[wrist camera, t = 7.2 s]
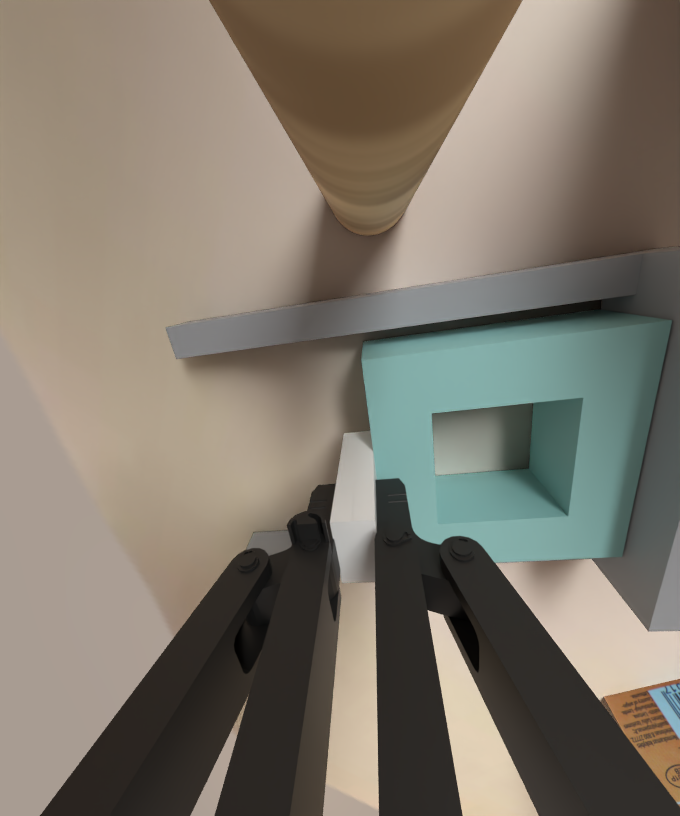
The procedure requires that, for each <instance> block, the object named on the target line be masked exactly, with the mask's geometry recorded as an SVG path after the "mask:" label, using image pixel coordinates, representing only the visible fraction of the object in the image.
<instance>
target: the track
mask: <svg viewBox="0 0 680 816" xmlns="http://www.w3.org/2000/svg"><path fill="white" fill-rule="evenodd" d="M600 299H602V304H601V310H607V311H614V312H620V313H627V314H634V315H640V316H647V317H654V318H660V319H667V320H672V324H671V328H670V333H669V338H668V342H667V347H666V352H665V357H664V361H663V366H662V371H661V376H660V380H659V385H658V390H657V394H656V399H655V404H654V409H653V413H652V418H651V423H650V427H649V432H648V437H647V442H646V446H645V451H644V456H643V461H642V465H641V470H640V475H639V479H638V484H637V489H636V494H635V498H634V503H633V508H632V512H631V517H630V522H629V527H628V531H627V536H626V541H625V546H624V550H623V555H622V557H608V558H585V559H592V560H593V561H594V562H595V564H596V565H597V566H598V568H599V569H600V570H601V571H602V573H603V574H604V575H605V576H606V578H607V579H608V580H609V582H610V583H611V584H612V585H613V587H614V588H615V589H616V591H617V592H618V593H619V594H620V596H621V597H622V598H623V599H624V601H625V602H626V603H627V605H628V606H629V607H630V608H631V610H632V611H633V612H634V614H635V615H636V616H637V617H638V619H639V620H640V621H641V623H642V624H643V625H644V626H645V628H646V629H647V630H648V631H680V246H678V247H667V248H657V249H651V250H644V251H638V252H631V253H625V254H619V255H612V256H606V257H599V258H593V259H587V260H580V261H574V262H567V263H561V264H555V265H548V266H542V267H535V268H529V269H523V270H516V271H510V272H503V273H497V274H491V275H484V276H478V277H471V278H465V279H459V280H452V281H446V282H439V283H433V284H427V285H420V286H414V287H407V288H401V289H395V290H388V291H382V292H375V293H369V294H363V295H356V296H350V297H343V298H337V299H331V300H324V301H318V302H311V303H305V304H299V305H292V306H286V307H279V308H273V309H267V310H260V311H254V312H247V313H241V314H235V315H228V316H222V317H215V318H209V319H203V320H196V321H190V322H185V323H181V324H177V325H174V326H170V327H166V331H167V334H168V337H169V339H170V342H171V345H172V348H173V351H174V354H175V357H176V359H180V358H187V357H194V356H202V355H209V354H216V353H223V352H230V351H237V350H244V349H251V348H258V347H266V346H273V345H280V344H287V343H294V342H301V341H308V340H315V339H322V338H330V337H337V336H344V335H351V334H358V333H365V332H372V331H379V330H387V329H394V328H401V327H408V326H415V325H422V324H429V323H436V322H443V321H451V320H458V319H465V318H472V317H479V316H486V315H493V314H500V313H508V312H515V311H522V310H529V309H536V308H543V307H550V306H557V305H564V304H572V303H579V302H586V301H593V300H600ZM291 545H292V543H291V539H290V536H289V532H288V530H285V531H269V532H254V533H253V535H252V537H251V540H250V542H249V544H248V546H247V548H246V550H248V549H251V548H261V549H263V550H265V551H266V552H267V554H268V556H270V555H273V554H276V553H279V552H282V551H284V550H287V549H288V548H290V547H291ZM562 560H576V559H562ZM540 561H553V560H540ZM517 562H530V561H517ZM495 563H507V562H495Z"/></svg>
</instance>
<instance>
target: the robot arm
mask: <svg viewBox="0 0 680 816" xmlns="http://www.w3.org/2000/svg"><path fill="white" fill-rule="evenodd" d="M287 528H288V532H289V536H290V539H291V543H292V545H291V547H290V548H288V549H287V550H284V551H282V552H279V553H276V554H273V555H270V556H268V554H267V552H266V551H265V550H263V549H261V548H251V549H248V550H245V551H243V552H241V553H240V554H238V555H237V556H236V557H235V558H234V559H233V560H232V561H231V563H230V564H229V565H228V566H227V568H226V569H225V570H224V572H223V573H222V574H221V576H220V577H219V578H218V580H217V581H216V582H215V584H214V585H213V586H212V588H211V589H210V590H209V592H208V593H207V594H206V596H205V597H204V598H203V600H202V601H201V602H200V604H199V605H198V606H197V608H196V609H195V610H194V612H193V613H192V614H191V616H190V617H189V618H188V620H187V621H186V622H185V624H184V625H183V626H182V628H181V629H180V630H179V632H178V633H177V634H176V636H175V637H174V638H173V640H172V641H171V642H170V644H169V645H168V646H167V648H166V649H165V650H164V652H163V653H162V654H161V656H160V657H159V658H158V660H157V661H156V662H155V664H154V665H153V666H152V668H151V669H150V670H149V672H148V673H147V674H146V675H145V677H144V678H143V679H142V681H141V682H140V683H139V685H138V686H137V687H136V689H135V690H134V691H133V693H132V694H131V696H130V697H129V698H128V699H127V701H126V702H125V704H124V705H123V706H122V707H121V709H120V710H119V711H118V713H117V714H116V715H115V717H114V718H113V719H112V721H111V722H110V723H109V725H108V726H107V727H106V729H105V730H104V731H103V733H102V734H101V735H100V737H99V738H98V739H97V741H96V742H95V743H94V745H93V746H92V747H91V749H90V750H89V751H88V753H87V754H86V755H85V757H84V758H83V759H82V761H81V762H80V763H79V765H78V766H77V767H76V769H75V770H74V771H73V773H72V774H71V775H70V777H69V778H68V779H67V780H66V782H65V783H64V785H63V786H62V787H61V789H60V790H59V791H58V792H57V794H56V795H55V797H54V798H53V799H52V801H51V802H50V803H49V804H48V806H47V807H46V808H45V810H44V811H43V813H42V814H41V815H40V816H190V815H191V813H192V811H193V809H194V807H195V805H196V803H197V800H198V798H199V796H200V794H201V792H202V790H203V788H204V785H205V784H206V782H207V780H208V778H209V776H210V773H211V771H212V769H213V767H214V765H215V763H216V761H217V759H218V757H219V754H220V753H221V751H222V748H223V747H224V744H225V742H226V740H227V738H228V736H229V734H230V732H231V730H232V728H233V726H234V724H235V722H236V720H237V717H238V715H239V713H240V711H241V709H242V707H243V705H244V703H245V701H246V699H247V697H248V700H247V704H246V707H245V711H244V714H243V718H242V721H241V725H240V728H239V732H238V735H237V739H236V742H235V746H234V750H233V753H232V756H231V760H230V763H229V767H228V770H227V774H226V777H225V781H224V784H223V788H222V791H221V795H220V799H219V802H218V806H217V809H216V813H215V816H323V805H324V793H325V782H326V770H327V758H328V746H329V735H330V723H331V711H332V699H333V687H334V676H335V664H336V652H337V640H338V628H339V616H340V605H341V593H340V588H339V581H340V576H341V581H342V583H362V582H375V600H376V659H377V718H378V777H379V816H462V810H461V804H460V798H459V792H458V787H457V781H456V775H455V769H454V763H453V757H452V751H451V746H450V740H449V734H448V728H447V722H446V716H445V711H444V705H443V699H442V693H441V687H440V681H439V675H438V670H437V664H436V658H435V652H434V646H433V640H432V634H431V629H430V623H429V617H428V611H427V610H429V611H432V612H436V613H439V614H443V615H444V618H445V620H446V623H447V625H448V627H449V629H450V631H451V633H452V635H453V637H454V639H455V641H456V643H457V645H458V648H459V650H460V652H461V654H462V656H463V658H464V660H465V662H466V664H467V666H468V668H469V671H470V673H471V675H472V677H473V679H474V681H475V683H476V685H477V687H478V689H479V691H480V693H481V696H482V698H483V700H484V702H485V704H486V706H487V708H488V710H489V712H490V714H491V716H492V719H493V721H494V723H495V725H496V727H497V729H498V731H499V733H500V735H501V737H502V739H503V742H504V744H505V746H506V748H507V750H508V752H509V754H510V756H511V758H512V760H513V762H514V764H515V767H516V769H517V771H518V773H519V775H520V777H521V779H522V781H523V783H524V785H525V787H526V790H527V792H528V794H529V796H530V798H531V800H532V802H533V804H534V806H535V808H536V810H537V813H538V815H539V816H680V806H679V805H678V804H677V802H676V801H675V800H674V798H673V797H672V796H671V794H670V793H669V792H668V790H667V789H666V788H665V787H664V785H663V784H662V783H661V781H660V780H659V779H658V777H657V776H656V775H655V773H654V772H653V771H652V769H651V768H650V767H649V765H648V764H647V763H646V761H645V760H644V759H643V758H642V756H641V755H640V754H639V752H638V751H637V750H636V748H635V747H634V746H633V744H632V743H631V742H630V740H629V739H628V738H627V736H626V735H625V734H624V732H623V731H622V730H621V729H620V727H619V726H618V725H617V723H616V722H615V721H614V719H613V718H612V717H611V715H610V714H609V713H608V711H607V710H606V709H605V707H604V706H603V705H602V703H601V702H600V701H599V700H598V698H597V697H596V696H595V694H594V693H593V692H592V690H591V689H590V688H589V686H588V685H587V684H586V682H585V681H584V680H583V678H582V677H581V676H580V674H579V673H578V672H577V671H576V669H575V668H574V667H573V665H572V664H571V663H570V661H569V660H568V659H567V657H566V656H565V655H564V653H563V652H562V651H561V649H560V648H559V647H558V645H557V644H556V643H555V642H554V640H553V639H552V638H551V636H550V635H549V634H548V632H547V631H546V630H545V628H544V627H543V626H542V624H541V623H540V622H539V620H538V619H537V618H536V616H535V615H534V614H533V613H532V611H531V610H530V609H529V607H528V606H527V605H526V603H525V602H524V601H523V599H522V598H521V597H520V595H519V594H518V593H517V591H516V590H515V589H514V588H513V586H512V585H511V584H510V582H509V581H508V580H507V578H506V577H505V576H504V574H503V573H502V572H501V570H500V569H499V568H498V566H497V565H496V564H495V562H494V561H493V560H492V559H491V557H490V556H489V555H488V553H487V552H486V551H485V549H484V548H483V547H482V546H481V545H480V544H479V543H478V542H477V541H475V540H473V539H471V538H469V537H464V536H452V537H449V538H447V539H445V540H444V541H443V542H442V543H441V544H435V543H431V542H427V541H425V540H423V539H421V538H420V537H418V536H417V535H416V534H415V532H414V531H413V528H412V524H411V518H410V512H409V506H408V500H407V495H406V488H405V484H404V483H403V482H402V481H401V480H400V479H399V478H393V479H380V480H377V476H376V468H375V461H374V453H373V446H372V438H371V431H362V432H352V433H344V436H343V443H342V449H341V455H340V462H339V468H338V474H337V480H336V484H327V485H318V486H317V487H316V489H315V490H314V491H313V492H312V494H311V498H310V503H309V506H308V510H307V511H305V512H301V513H299V514H297V515H295V516H294V517H293V518H292V519H290V521H289V522H288V524H287ZM248 695H249V696H248Z"/></svg>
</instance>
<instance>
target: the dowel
mask: <svg viewBox="0 0 680 816" xmlns="http://www.w3.org/2000/svg"><path fill="white" fill-rule="evenodd" d="M209 1H210V3H211V4H212V6H213V8H214V9H215V11H216V13H217V15H218V16H219V18H220V20H221V21H222V23H223V25H224V27H225V28H226V30H227V32H228V33H229V35H230V37H231V39H232V40H233V42H234V44H235V45H236V47H237V49H238V50H239V52H240V54H241V56H242V57H243V59H244V61H245V62H246V64H247V66H248V68H249V69H250V71H251V73H252V74H253V76H254V78H255V80H256V81H257V83H258V85H259V86H260V88H261V90H262V92H263V93H264V95H265V97H266V98H267V100H268V102H269V104H270V105H271V107H272V109H273V110H274V112H275V114H276V116H277V117H278V119H279V121H280V122H281V124H282V126H283V128H284V129H285V131H286V133H287V134H288V136H289V138H290V139H291V141H292V143H293V145H294V146H295V148H296V150H297V151H298V153H299V155H300V157H301V158H302V160H303V162H304V163H305V165H306V167H307V169H308V170H309V172H310V174H311V175H312V177H313V179H314V181H315V182H316V184H317V186H318V187H319V189H320V191H321V193H322V194H323V196H324V198H325V199H326V201H327V203H328V205H329V206H330V208H331V210H332V211H333V213H334V215H335V216H336V218H337V220H338V221H339V222H340V223H341V224H342V225H343V226H344V227H345V228H346V229H348V230H349V231H351V232H353V233H356V234H359V235H364V236H371V235H377V234H380V233H382V232H385V231H386V230H388V229H390V228H391V227H392V226H394V225H395V224H396V223H397V222H398V220H399V219H400V218H401V217H402V215H403V213H404V212H405V210H406V208H407V207H408V205H409V203H410V201H411V199H412V198H413V196H414V194H415V192H416V190H417V189H418V187H419V185H420V183H421V181H422V180H423V178H424V176H425V174H426V172H427V171H428V169H429V167H430V165H431V163H432V162H433V160H434V158H435V156H436V154H437V153H438V151H439V149H440V147H441V145H442V144H443V142H444V140H445V138H446V137H447V135H448V133H449V131H450V129H451V128H452V126H453V124H454V122H455V120H456V119H457V117H458V115H459V113H460V111H461V110H462V108H463V106H464V104H465V102H466V101H467V99H468V97H469V95H470V93H471V92H472V90H473V88H474V86H475V84H476V83H477V81H478V79H479V77H480V76H481V74H482V72H483V70H484V68H485V67H486V65H487V63H488V61H489V59H490V58H491V56H492V54H493V52H494V50H495V49H496V47H497V45H498V43H499V41H500V40H501V38H502V36H503V34H504V32H505V31H506V29H507V27H508V25H509V23H510V22H511V20H512V18H513V16H514V15H515V13H516V11H517V9H518V7H519V6H520V4H521V2H522V0H209Z"/></svg>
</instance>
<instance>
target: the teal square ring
mask: <svg viewBox="0 0 680 816" xmlns="http://www.w3.org/2000/svg"><path fill="white" fill-rule="evenodd" d="M671 324H672V320H667V319H660V318H654V317H647V316H640V315H634V314H627V313H620V312H614V311H607V310H601V309H597V310H589V311H582V312H575V313H568V314H560V315H553V316H546V317H538V318H531V319H524V320H516V321H509V322H502V323H494V324H487V325H480V326H473V327H465V328H458V329H451V330H443V331H436V332H429V333H421V334H414V335H407V336H400V337H392V338H385V339H378V340H370V341H363V348H362V358H361V362H362V370H363V377H364V385H365V393H366V400H367V408H368V415H369V423H370V431H371V438H372V446H373V453H374V461H375V468H376V476H377V480H380V479H393V478H399V479H400V480H401V481H402V482H403V483H404V484H405V488H406V495H407V500H408V506H409V512H410V518H411V524H412V528H413V531H414V532H415V534H416V535H417V536H418V537H420V538H421V539H423V540H425V541H427V542H431V543H435V544H441V543H442V542H443V541H444V540H445V539H447V538H449V537H452V536H464V537H469V538H471V539H473V540H475V541H477V542H478V543H479V544H480V545H481V546H482V547H483V548H484V549H485V551H486V552H487V553H488V555H489V556H490V557H491V559H492V560H493V561H494V562H517V561H540V560H562V559H585V558H608V557H622V555H623V550H624V546H625V541H626V536H627V531H628V527H629V522H630V517H631V512H632V508H633V503H634V498H635V494H636V489H637V484H638V479H639V475H640V470H641V465H642V461H643V456H644V451H645V446H646V442H647V437H648V432H649V427H650V423H651V418H652V413H653V409H654V404H655V399H656V394H657V390H658V385H659V380H660V376H661V371H662V366H663V361H664V357H665V352H666V347H667V342H668V338H669V333H670V328H671ZM527 403H533V415H532V430H531V444H530V459H529V468H528V469H515V470H502V471H490V472H477V473H465V474H452V475H440V476H435V466H434V448H433V430H432V413H441V412H450V411H460V410H469V409H479V408H489V407H498V406H508V405H517V404H527Z"/></svg>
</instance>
